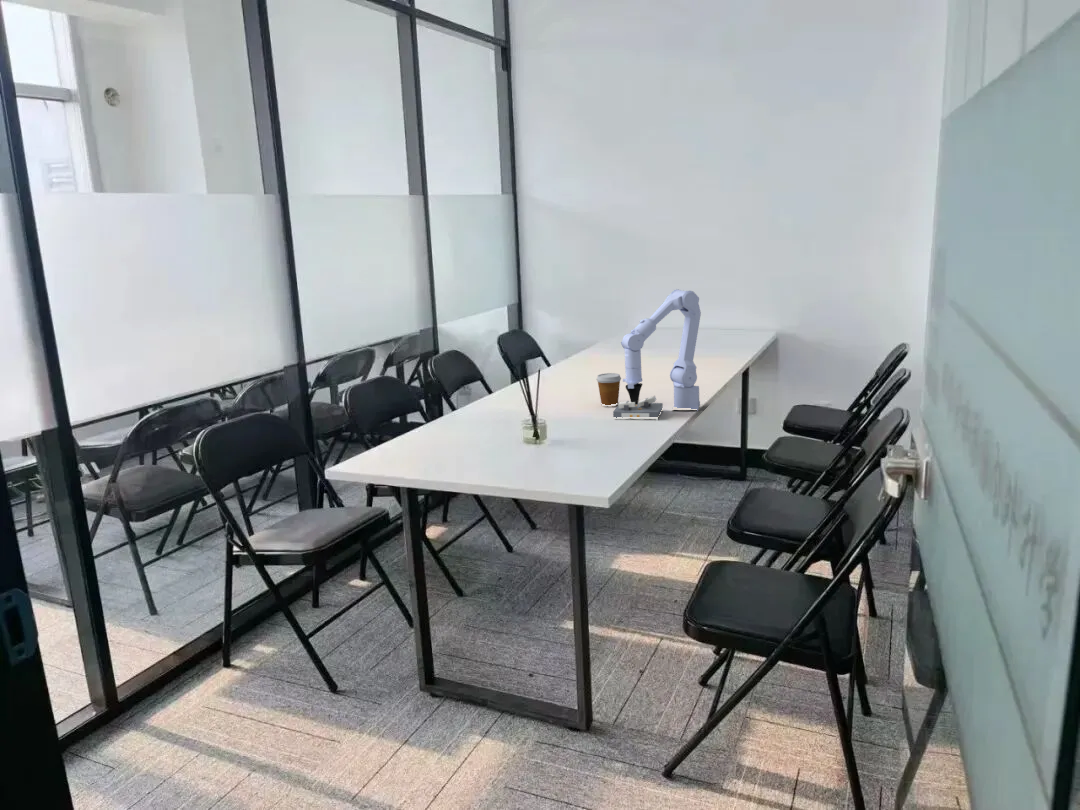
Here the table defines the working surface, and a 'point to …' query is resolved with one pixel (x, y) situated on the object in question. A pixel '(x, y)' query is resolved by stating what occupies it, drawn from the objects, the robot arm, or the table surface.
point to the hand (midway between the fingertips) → (634, 404)
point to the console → (639, 410)
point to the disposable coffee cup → (609, 387)
